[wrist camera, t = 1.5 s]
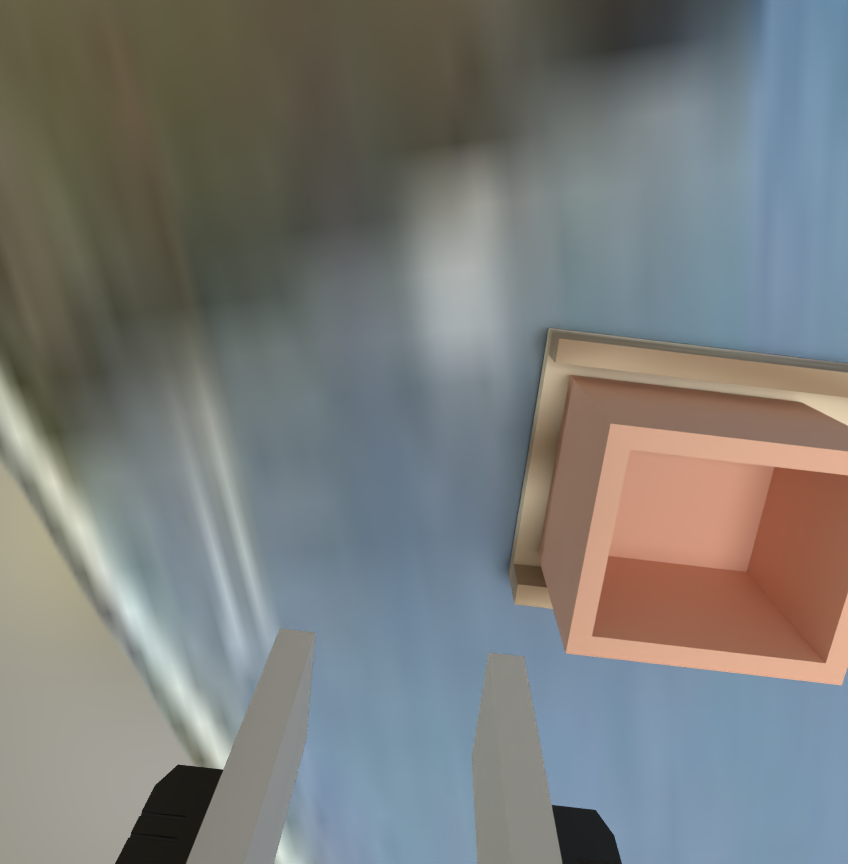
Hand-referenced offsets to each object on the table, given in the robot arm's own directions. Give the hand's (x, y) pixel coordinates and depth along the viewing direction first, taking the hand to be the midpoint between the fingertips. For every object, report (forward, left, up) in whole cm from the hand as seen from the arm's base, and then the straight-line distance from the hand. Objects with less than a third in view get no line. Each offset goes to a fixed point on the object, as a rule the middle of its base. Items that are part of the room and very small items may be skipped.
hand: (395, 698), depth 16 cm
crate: (0, +11, -17) cm, 20 cm away
